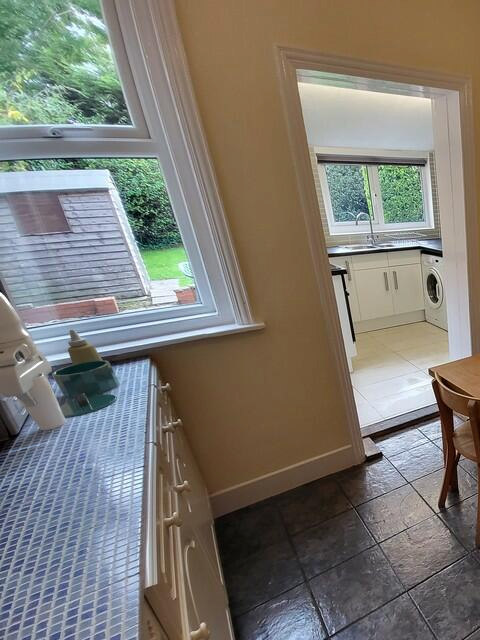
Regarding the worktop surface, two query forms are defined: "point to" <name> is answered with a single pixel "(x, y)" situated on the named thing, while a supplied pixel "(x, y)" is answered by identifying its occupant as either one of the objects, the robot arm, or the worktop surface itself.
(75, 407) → the lid
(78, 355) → the squeeze bottle
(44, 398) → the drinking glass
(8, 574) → the worktop surface
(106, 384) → the pot
